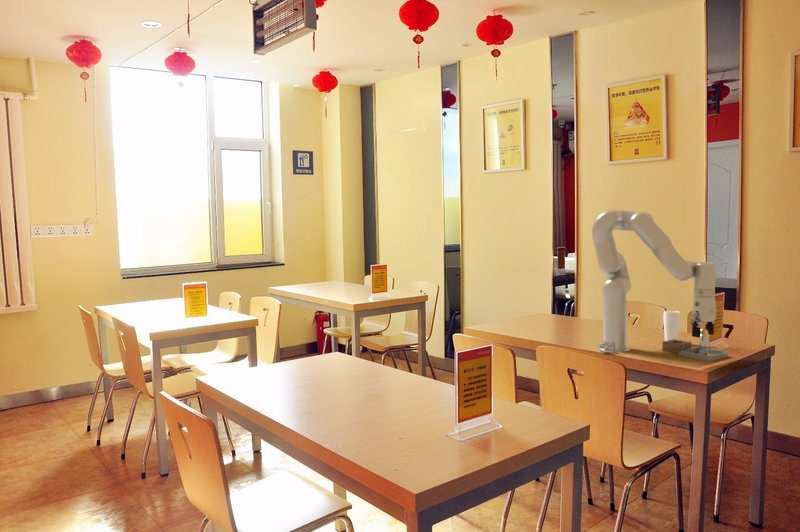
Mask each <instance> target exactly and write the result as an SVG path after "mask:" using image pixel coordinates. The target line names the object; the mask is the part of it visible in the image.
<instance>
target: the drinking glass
mask: <svg viewBox="0 0 800 532" xmlns="http://www.w3.org/2000/svg"><path fill="white" fill-rule="evenodd" d="M662 319H663V331H664V332H663V333H664V341H668V340H672V339H675V340H679V336H680V335H679V334H680V326H681V311H679V310H663V317H662Z"/></svg>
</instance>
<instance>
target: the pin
mask: <svg viewBox="0 0 800 532" xmlns="http://www.w3.org/2000/svg"><path fill="white" fill-rule="evenodd" d="M708 340H709V334H708V330H707V329H705V328H704V327H703V328H701V334H700V337H699V340H698V342H699V346H698V347H699V352H698V354H701V355H707V356H709V355H708V349H709V348H708V344H709V343H708Z"/></svg>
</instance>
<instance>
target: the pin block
mask: <svg viewBox="0 0 800 532" xmlns="http://www.w3.org/2000/svg"><path fill="white" fill-rule="evenodd" d="M661 346H662V348H661V349H662V352H665V353H670V354H675V355H676V354H677V355H679V351H682V350H686V349H690V348H692V341H686V340H681V339H678V340H675V339H672V340H668V341H665V340H664V341H662V345H661Z"/></svg>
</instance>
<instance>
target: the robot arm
mask: <svg viewBox="0 0 800 532" xmlns="http://www.w3.org/2000/svg"><path fill="white" fill-rule="evenodd" d="M614 231H627V232H629V231H630V232H634V233H635V235H637V236H638V237H639V239H640V240H641V241H642V242H643V243H644V244H645V246H647V248H649V250H650V251H651V253H652V254H653V255H654V256H655V257H656V259H657V260H658V261H659V262H660V264H661V265H662V266H663V267H664V268H665V269H666V270H667V272H668V273H669V274H670V275H671V276H672V277H673V278H675V279H676V280H677V281H681V282H683V281H688V280H691V279H694V280H693V281H694V283H693V284H694V285H693V296H694V299H693V303H692V313H691V316H690V317H689V318H690V323H691V327H692V328H691V336H692V337H693V338H699V339H700V334H701V329H702V328H701V324H702V323H705V325H704V326H705V329H707V330H708V335H714V333H715V330H714V329H715V321H716V320H717V319H716V318H717V303H716V301H717V300H716V297H715V296H716V276H717V275H716V273H717V272H716V271H717V267H716V264H715V263H714V262H709V261H698V262H697V261H691V260H685V259H684V258H683V257H682V256H681V255H680V254H679V252H678V251H677V250H676V248H675V247H674V246H673V244H672V241H671V239H670V237H669V236H668V234H667V233H665V232H664V231H663V230H662V228H661V227H660V226H659V225H658V224H657V223H656V222H655V220H654V218H653V216H652V214H650V213H649V212H646V211H629V210H620V209H619V210H617V209H610V210H605V211H603V212H602V213H601V214H599V215H598V216H597V218H595V220H594V222H593V223H592V227H591V236H592V241H593V245H594V251H595V255H596V259H597V265H598V268H599V270H600V271H601V272H602V273H603V274H605V276H606V280H605V281H604V283H603V285H602V291H601V292H602V305H603V306H602V309H603V311H602V313H603V314H602V315H603V317H602V319H603V321H602V324H603V326H602V327H603V329H602V333H603V334H602V335H603V336H602V341H601V343H598V344H596V348H597V349H599V351H601V352H603V353H608V354H609V353H610V354H618V353H620V352H622V353H623V352H628V351H631V348H630V347H629V346H627V344H628V343H627V342H628V341H627V340H628V339H627V338H628V337H627V336H628V331H627V329H628V327H627V326H628V325H627V324H628V314H627V313H628V311H627V310H628V305H627V304H628V303H627V295H629V293H630V291H631V288H632V282H631V279H630V273H629V269H628V265H627V262H626V259H625V257H624V256H623V254H622V253H620V252H618V250H617V246H616V242H615V241H616V240H615V238H614V235H613V233H614Z"/></svg>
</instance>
